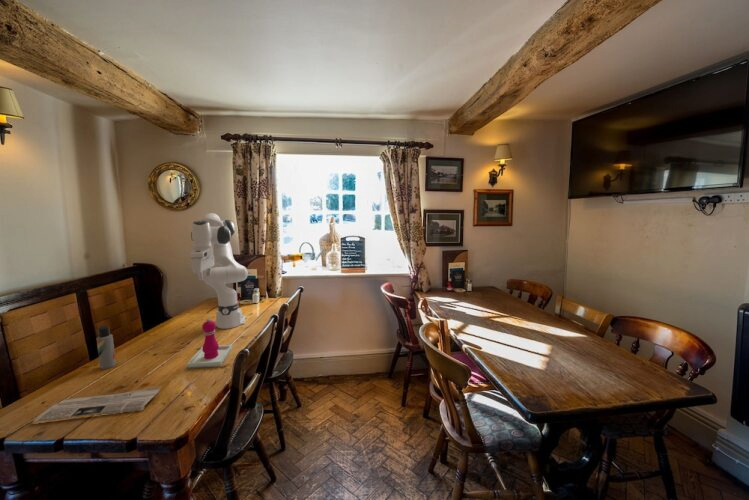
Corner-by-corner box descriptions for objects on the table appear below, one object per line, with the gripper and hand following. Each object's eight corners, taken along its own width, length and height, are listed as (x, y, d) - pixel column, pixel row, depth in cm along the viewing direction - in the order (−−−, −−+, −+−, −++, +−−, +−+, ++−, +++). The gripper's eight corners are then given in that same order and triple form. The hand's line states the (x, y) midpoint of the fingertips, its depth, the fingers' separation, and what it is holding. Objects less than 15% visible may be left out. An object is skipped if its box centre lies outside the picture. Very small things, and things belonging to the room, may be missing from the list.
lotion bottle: (115, 362, 145) (110, 323, 142) (116, 366, 141) (111, 326, 138) (100, 366, 141) (94, 326, 138) (100, 370, 137) (95, 330, 134)
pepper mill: (212, 360, 145) (209, 321, 142) (199, 358, 146) (196, 320, 143) (222, 353, 152) (219, 316, 149) (210, 352, 153) (207, 315, 150)
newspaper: (32, 426, 102) (31, 417, 102) (62, 403, 114) (60, 395, 114) (148, 411, 110) (147, 402, 109) (164, 391, 122) (163, 383, 121)
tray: (202, 351, 156) (202, 346, 156) (232, 349, 158) (232, 344, 158) (187, 369, 138) (186, 364, 138) (220, 366, 141) (220, 361, 141)
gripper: (204, 249, 163) (206, 273, 165) (187, 254, 143) (190, 282, 145) (216, 249, 164) (218, 273, 166) (201, 254, 144) (203, 281, 146)
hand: (205, 277), depth 155 cm, fingers open, 8 cm apart
